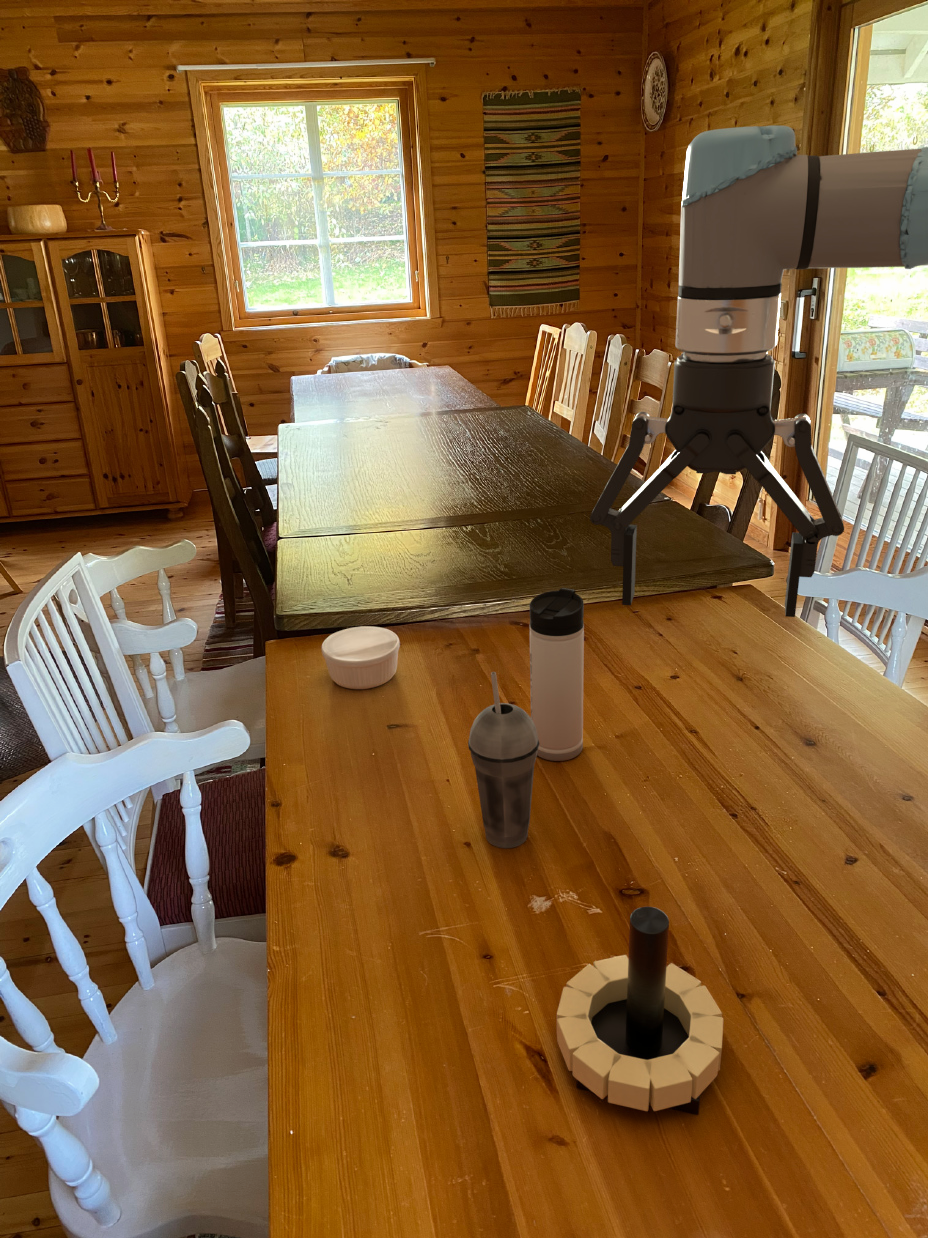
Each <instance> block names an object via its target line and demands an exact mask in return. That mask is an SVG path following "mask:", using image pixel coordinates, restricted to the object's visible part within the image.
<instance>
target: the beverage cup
mask: <svg viewBox="0 0 928 1238" xmlns="http://www.w3.org/2000/svg"><path fill="white" fill-rule="evenodd" d="M490 679H491V687H492V694H493V702H494V703H493V704H492V705H489V706H487V707H485V708H484V709H483V710H482V711H480V712H479V713H478V715H477V716H476V717H475V719H474V720H473V723H472V725H471V727H470V730H469V737H468V740H467V741H468V742H467V745H468V747H467V748H468V750H469V751H470V757H471V760H472V764H473V766H474V770H475V775H476V784H477V791H478V798H479V804H480V810H481V818H482V824H483V825H482V826H483V828H484V833H485V838H486V841H487V842H488V843H489V844H491V845H492V846H494V847H496V848H499V849H501V848H502V849H513V848H516V847H517V848H518V847H519V846H521V845H522V844H524V843H525V842H526V841H527V839H528V837H529V827H530V823H531V810H532V798H533V784H534V773H535V772H534V771H535V764H536V760H537V757H538V755H537V751H538V747H539V744H540V743H539V739H538V735H537V731H536V727H535V724H534V722H533V720H532V719H531V715H529V713H527V712H526V711H525V710H524V709H523V708H521V707H520V706H517V705H515V704H511V703H507V702H500V694H499V693H500V692H499V687H498V677H497V673H496V671H492V672H490Z"/></svg>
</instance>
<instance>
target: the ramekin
mask: <svg viewBox="0 0 928 1238" xmlns="http://www.w3.org/2000/svg"><path fill="white" fill-rule="evenodd" d="M400 647H401V641H400V638H399V636H398V635H397V634H396V633H395V632H393V631H392V630H390V629H388V628H384V627H380V626H370V625H369V626H368V625H367V626H355V627H349V628H346V629H342V630H339V631H336V632H334V633H331V634H330V635H329V636H328V637H326V638H325V639H324V641H322V644H321V654H322V657H323V658H324V660H325V664H326V667H327V670H328V674H329V677H330V679H331V680H332V681H333V682H334V683H335V684H337V685H338V686H339V687H342V688H346V689H351V690H367V689H368V690H369V689H373V688H377V687H380V686H382V685H384V684H386V683H388V682H389V681H390V680H391V679H392V678H393V677H394V675H395V674H396V672H397V669H398V658H399V651H400Z"/></svg>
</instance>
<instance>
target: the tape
mask: <svg viewBox="0 0 928 1238" xmlns="http://www.w3.org/2000/svg"><path fill="white" fill-rule="evenodd" d="M628 958H629V957H628V955H626V954H622V955H619V956H613V957H609V958H604V959H599V960H596V961H595V960H594V961H593V965H592V964H590V963H589V964H587V965H586V966H584V968H582V969H581V970H580V971H579V972H577V974H575V975H574V976H573V977H571V979H569V980H568V981H567V982H566V986H563V987H562V991H561V996H560V999H559V1002H558V1003H559V1004H558V1008H557V1010H556V1041H557V1044H558V1047H559V1049H560V1052H561V1055H562V1057H563V1060H564V1063H565V1064H566V1068H567V1070H568V1072H572V1077H573V1078H575V1080H576V1081H577V1080H579V1081H580V1082H581V1083H582V1084H584V1085H585V1086H586V1087H587V1088H589V1089H590V1090H591V1091H590V1092H592V1093H594V1094H595V1095H596V1096H597V1097H598V1098H600V1099H601V1100H604V1099H605V1098H606V1097H607V1103H609V1104H614V1105H617V1106H623V1107H627V1108H630V1109H635V1110H639V1111H644V1112H648V1111H649V1106H651V1108H652V1110H653V1112H657V1111H662V1110H665V1109H670V1108H669V1107H673V1106H677V1105H681V1104H685V1103H689V1102H691V1097H693V1098H694V1099H696V1098H697V1097H698V1096H699V1095H700V1096H701V1094H702V1093H703V1092H704V1091H705V1090H706V1089H707V1088H708V1087H709V1085H710V1084H711V1083H712V1082H713V1081H714V1080H715V1079H716V1078H717V1077H718V1074H719V1071H721V1062H722V1061H721V1060H722V1051H723V1050H722V1049H723V1037H724V1036H723V1034H724V1017H723V1012H722V1011H721V1009H720V1008H719V1006H718V1004H717V1002H716V1001H715V999H714V998H713V996H712V994H711V993H710V991H709V990H708V988H707V986H706V985H702V981H701V980H699V979H698V978H696V977H694V975H691V973H688V972H687V971H685V970H684V969H682V968H680V967H679V966H677V965H676V964H674V963H673V962H670V963H669V964H668V965H667V967H666V984H665V1000H664V1008H665V1009H666V1010H668V1011H669V1012H671V1013H672V1014H674V1015H675V1016H677V1017H678V1018H679V1020H680V1022H681V1023H682V1025H683V1027H684V1029H685V1031H686V1032H687V1034H688V1036H689V1038H688V1039H687V1040H686V1041H685V1042H684V1043H683V1044H682V1045H681V1046H680V1047H679V1048H678V1049H677V1050H676V1051H675V1052H674V1053H673V1054H670V1055H666V1056H662V1057H658V1058H654V1059H649V1060H645V1059H640V1058H635V1057H631V1056H626V1055H621V1054H618V1053H617V1052H616V1051H614V1050H613V1049H611V1048H610V1047H609V1046H607V1045H606V1044H605V1043H603V1042H602V1041H601V1040H599V1039H598V1038H597V1036H596V1034H595V1031H594V1029H593V1027H592V1025H591V1021H592V1017H593V1016H594V1015H596V1014H597V1013H598V1012H599V1011H600V1010H601V1009H602V1008H603V1007H604V1006H606V1005H607V1004H608V1003H611V1002H616V1001H620V1000H625V999H627V984H628ZM649 1102H650V1104H649Z"/></svg>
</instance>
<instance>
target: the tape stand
mask: <svg viewBox="0 0 928 1238" xmlns="http://www.w3.org/2000/svg"><path fill="white" fill-rule="evenodd" d="M628 933H629V934H628V957H627V958H628V984H627V999H625V1000H620V1001H616V1002H611V1003H608V1004H607V1005H606V1006H604V1007H603V1008H602V1009H601V1010H600V1011H599V1012H598V1013H597V1014H596V1015H594V1016H593V1017H592V1021H591V1025H592V1027H593V1029H594V1031H595V1034H596V1036H597V1038H598V1039H599V1040H601V1041H602V1042H603V1043H605V1044H606V1045H607V1046H609V1047H610V1048H611V1049H613V1050H614V1051H616V1052H617V1053H618V1054H621V1055H626V1056H631V1057H635V1058H640V1059H645V1060H649V1059H654V1058H658V1057H662V1056H666V1055H670V1054H673V1053H674V1052H675V1051H676V1050H677V1049H678V1048H679V1047H680V1046H681V1045H682V1044H683V1043H684V1042H685V1041H686V1040H687V1039H688V1038H689V1036H688V1034H687V1032H686V1031H685V1029H684V1027H683V1025H682V1023H681V1022H680V1020H679V1018H678V1017H677V1016H675V1015H674V1014H672V1013H671V1012H669V1011H668V1010H666V1009H665V1008H664V1000H665V984H666V967H667V966H668V965H667V964H668V949H669V933H670V919H669V917H668V915H667V914H666V913H665V912H664V911H663V910H661V909H659V908H657V907H653V906H641V907H638V908H636V909H633V911H632V913H631V914H630V916H629V932H628ZM576 1088H577V1089H578V1090H583V1091H588V1092H592V1091H591V1090H590V1089H589V1088H587V1087H586V1086H585V1085H584V1084H582V1083H581V1082H580V1081H579V1080H577V1079H576ZM700 1101H701V1094H700V1095H699V1096H698V1097H697V1098H696V1099H694V1098H693V1097H691V1102H689V1103H685V1104H681V1105H677V1106H673V1107H669V1108H668V1109H669V1110H674V1111H679V1112H683V1113H688V1114H693V1115H699V1114H700ZM649 1105H651V1104H650V1102H649Z"/></svg>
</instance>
